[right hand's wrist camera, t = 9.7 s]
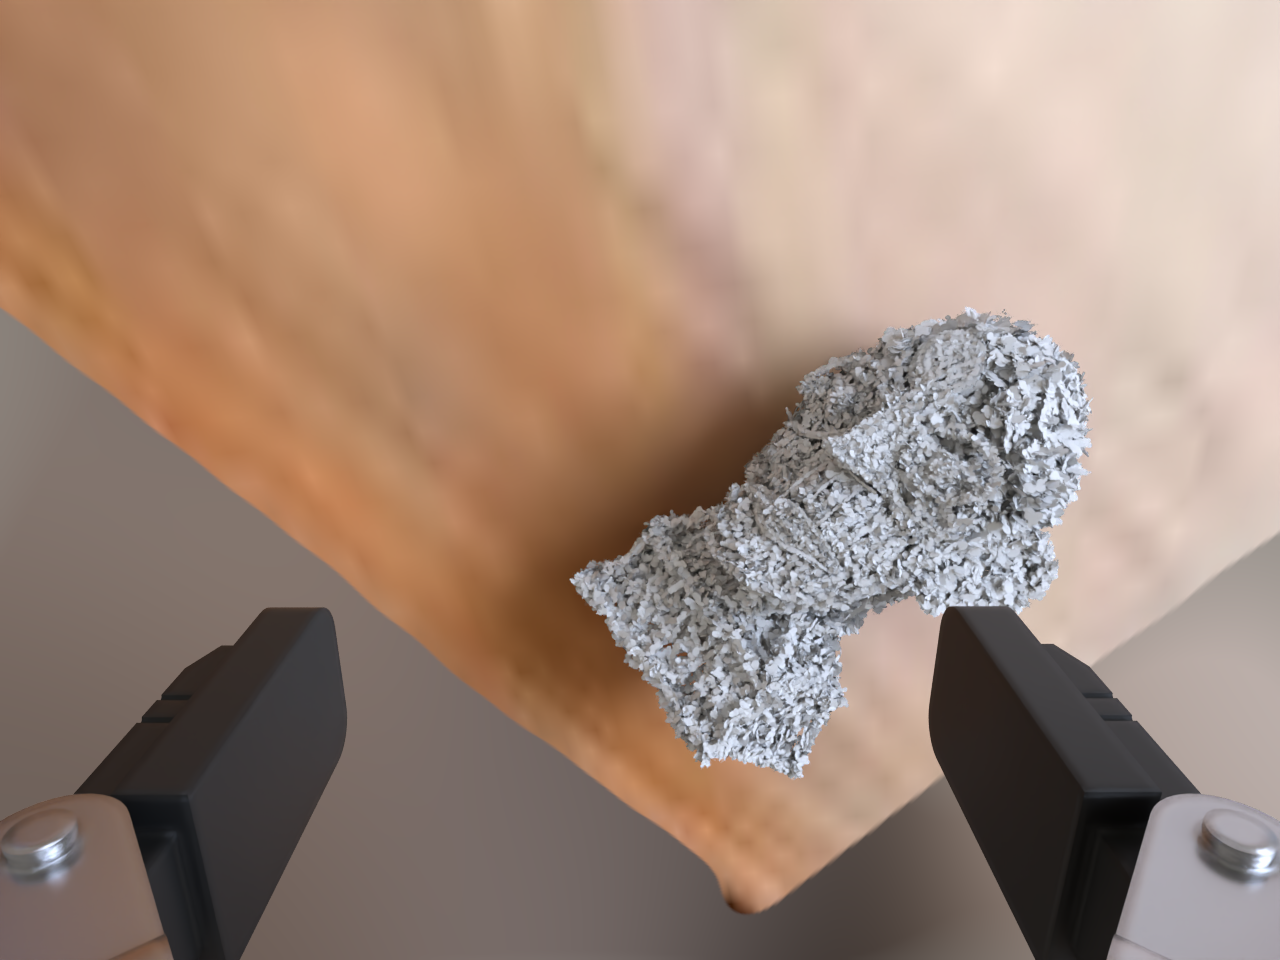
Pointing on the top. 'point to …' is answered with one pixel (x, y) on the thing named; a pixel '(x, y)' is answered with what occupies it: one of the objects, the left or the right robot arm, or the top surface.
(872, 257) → the top surface
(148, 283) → the top surface
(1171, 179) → the top surface
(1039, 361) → the rock
